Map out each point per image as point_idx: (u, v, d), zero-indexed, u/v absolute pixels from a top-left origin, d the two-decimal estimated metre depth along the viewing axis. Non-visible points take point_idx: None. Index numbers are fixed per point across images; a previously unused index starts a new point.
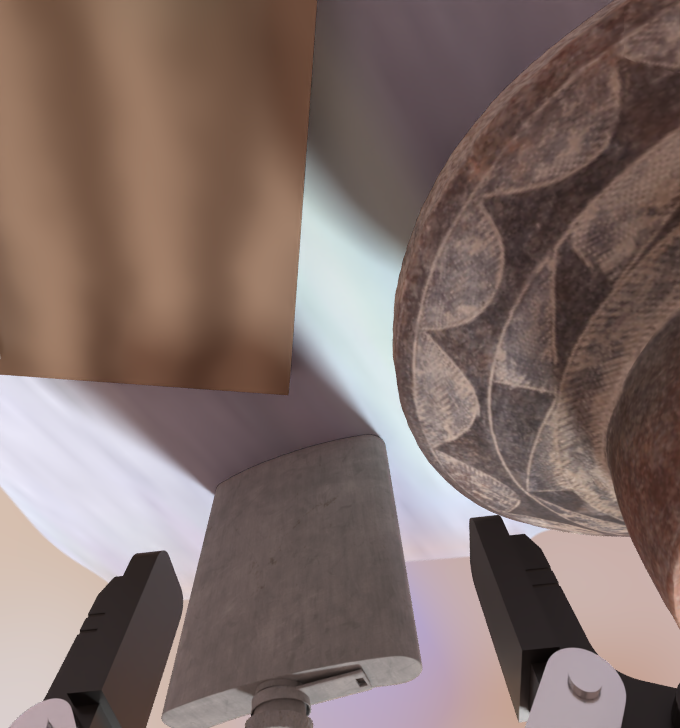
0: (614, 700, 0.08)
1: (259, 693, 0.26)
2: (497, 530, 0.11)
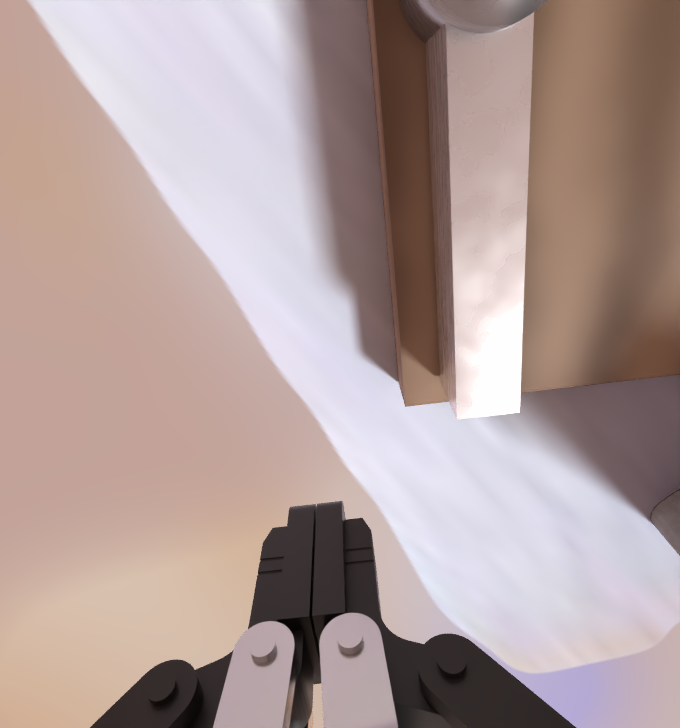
0: (367, 655, 0.09)
1: None
2: (333, 514, 0.13)
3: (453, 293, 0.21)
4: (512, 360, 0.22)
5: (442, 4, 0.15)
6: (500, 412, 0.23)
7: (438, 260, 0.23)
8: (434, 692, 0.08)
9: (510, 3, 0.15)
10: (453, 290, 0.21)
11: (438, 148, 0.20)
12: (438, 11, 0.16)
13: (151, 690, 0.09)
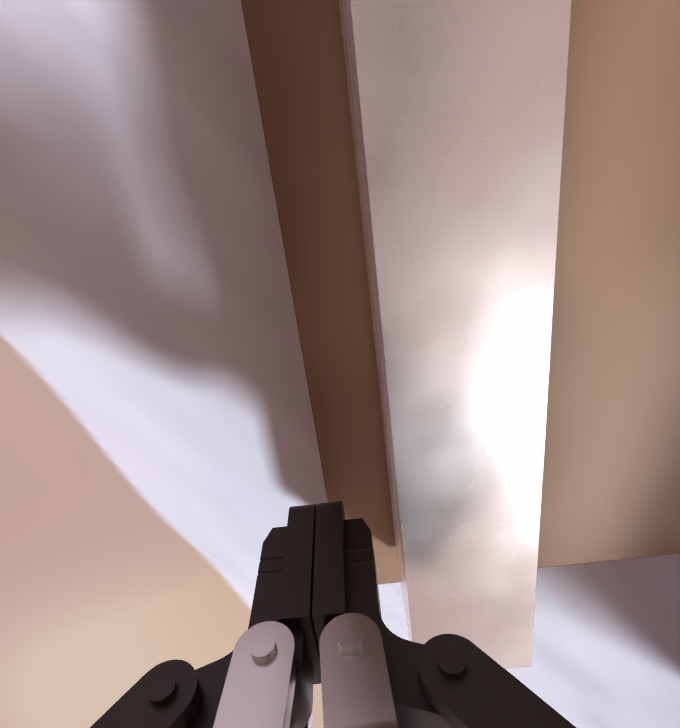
0: (367, 655, 0.09)
1: None
2: (333, 514, 0.13)
3: (397, 483, 0.10)
4: (518, 591, 0.11)
5: None
6: None
7: (380, 386, 0.12)
8: (434, 692, 0.08)
9: None
10: (397, 478, 0.10)
11: (361, 188, 0.09)
12: None
13: (151, 690, 0.09)
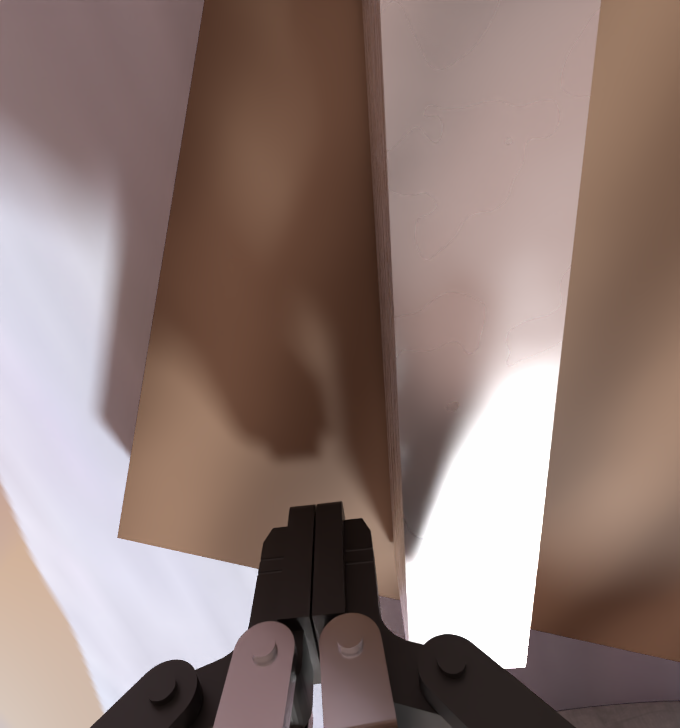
0: (367, 654, 0.09)
1: None
2: (333, 514, 0.13)
3: (402, 480, 0.10)
4: (516, 592, 0.11)
5: None
6: None
7: (386, 383, 0.12)
8: (434, 692, 0.08)
9: None
10: (402, 475, 0.10)
11: (378, 185, 0.09)
12: None
13: (151, 690, 0.09)
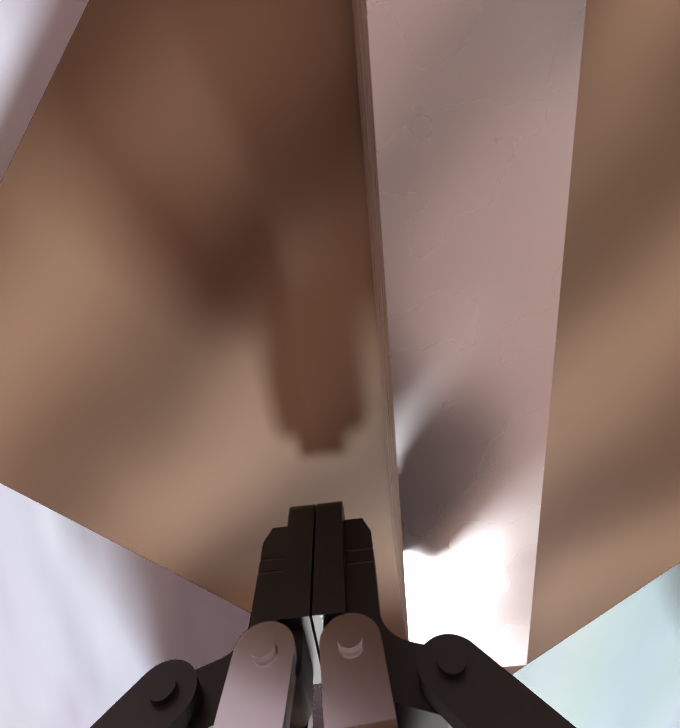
0: (367, 655, 0.09)
1: None
2: (333, 514, 0.13)
3: (399, 479, 0.10)
4: (515, 590, 0.11)
5: None
6: None
7: (383, 383, 0.12)
8: (434, 692, 0.08)
9: None
10: (398, 474, 0.10)
11: (370, 185, 0.09)
12: None
13: (151, 690, 0.09)
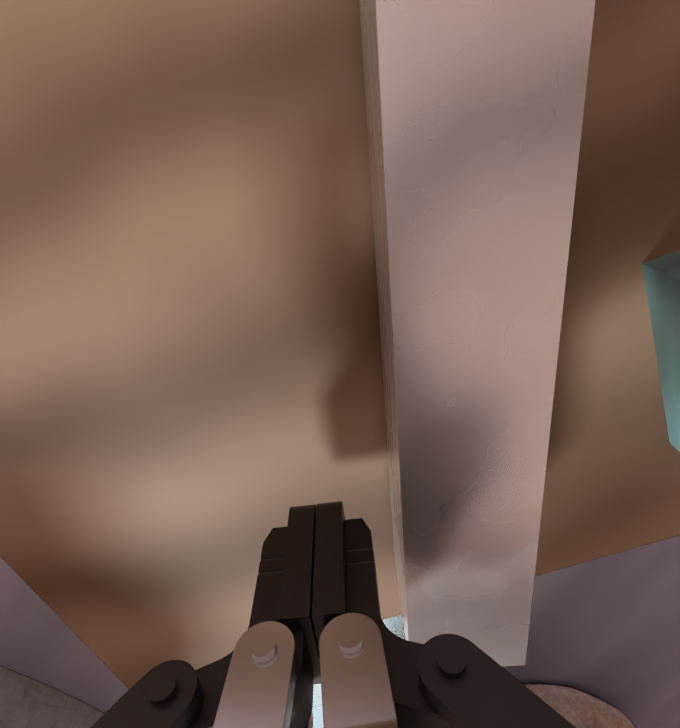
0: (367, 654, 0.09)
1: None
2: (333, 514, 0.13)
3: (400, 478, 0.10)
4: (515, 590, 0.11)
5: None
6: None
7: (385, 382, 0.12)
8: (434, 692, 0.08)
9: None
10: (400, 473, 0.10)
11: (376, 183, 0.09)
12: None
13: (151, 690, 0.09)
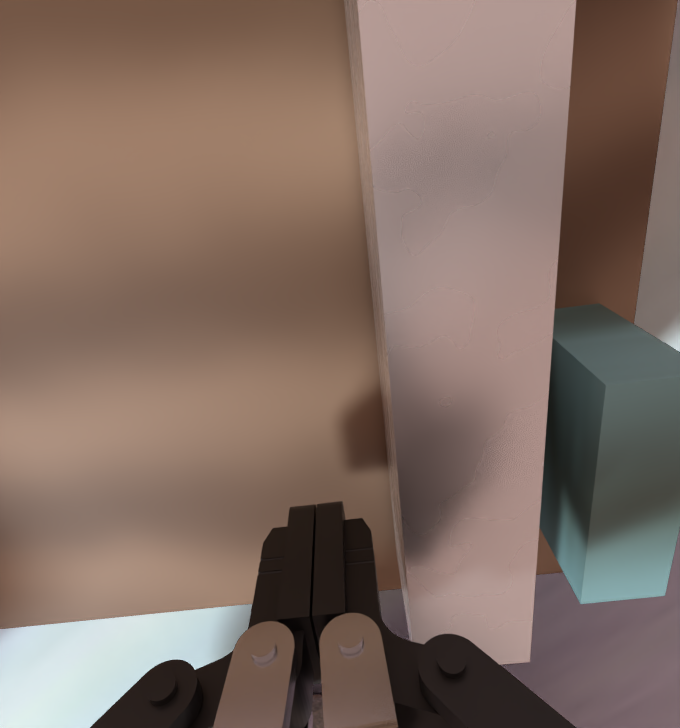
0: (368, 655, 0.09)
1: None
2: (333, 514, 0.13)
3: (398, 477, 0.10)
4: (517, 586, 0.11)
5: None
6: None
7: (381, 382, 0.12)
8: (434, 692, 0.08)
9: None
10: (398, 472, 0.10)
11: (365, 183, 0.09)
12: None
13: (151, 690, 0.09)
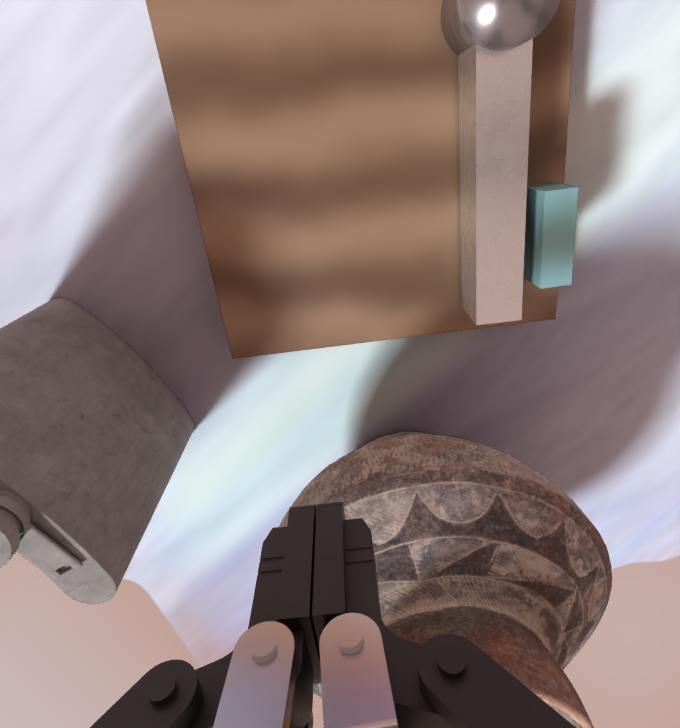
0: (368, 655, 0.09)
1: (6, 498, 0.24)
2: (333, 514, 0.13)
3: (476, 229, 0.30)
4: (516, 279, 0.31)
5: (475, 33, 0.24)
6: (508, 319, 0.32)
7: (463, 210, 0.32)
8: (434, 692, 0.08)
9: (518, 32, 0.24)
10: (476, 226, 0.30)
11: (467, 128, 0.29)
12: (472, 36, 0.25)
13: (151, 690, 0.09)
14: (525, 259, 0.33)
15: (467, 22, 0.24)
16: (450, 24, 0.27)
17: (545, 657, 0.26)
